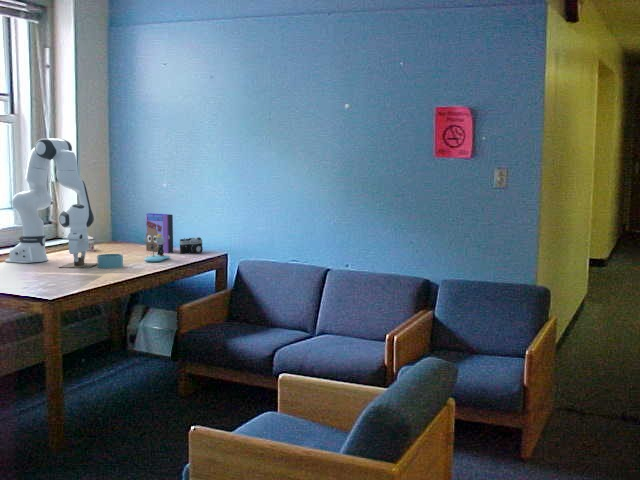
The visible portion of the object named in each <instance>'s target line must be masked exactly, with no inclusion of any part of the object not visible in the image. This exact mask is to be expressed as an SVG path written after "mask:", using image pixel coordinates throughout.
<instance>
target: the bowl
mask: <svg viewBox="0 0 640 480" xmlns="http://www.w3.org/2000/svg"><path fill="white" fill-rule="evenodd" d="M123 256H124V255H123V254H121V253H103V254H98V255H97V256H96V263H97V265H96V266H97V268H99V269H118V268H122V267H124V259H123V258H124V257H123Z"/></svg>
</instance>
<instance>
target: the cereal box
mask: <svg viewBox="0 0 640 480" xmlns="http://www.w3.org/2000/svg"><path fill="white" fill-rule="evenodd" d="M173 218H174V217H173V214H170V213H169V214H167V213H151V212H149V213H145V238H148V242H145V246H146V247H145V248H146V252H151V253H153V244H152V243H153V236H154V253H155V252H156V253H158V249H159V248H158V246H159V245H157V244H156V243H157V241H155V240H156V236H157V235H158V234H161V235H162V238H164V240H165V241H166V242H163V244H164V245H163V250H164V253H163V254H172V253H174V228H173V226H174V223H173ZM151 245H152V246H151ZM156 247H157V248H156Z"/></svg>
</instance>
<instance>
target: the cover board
mask: <svg viewBox="0 0 640 480" xmlns="http://www.w3.org/2000/svg"><path fill="white" fill-rule="evenodd" d="M78 258H79V261H78V262H75V258H74V257H73V262H68V263H66V264H64V265H60V266H58V269H90V268H93V267H95V266H97V262H85V259H84V257H81V256H78Z"/></svg>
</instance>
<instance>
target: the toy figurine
mask: <svg viewBox="0 0 640 480" xmlns="http://www.w3.org/2000/svg"><path fill="white" fill-rule="evenodd" d="M142 241H143V242H144V243H146V242H148V238H146V237H144V238H143V239H142ZM155 241H157V243H156V244H157V245H159V246H158V248H159V249H158V252H154V236H153V243H152V244H153V252H152V255H151V256H148V254H147V255H146V256H147V257H145V258H144V261H145V262H147V263H148V262H149V263H157V262H162V261H164V260H167V259H170V258H171V256H170V255H167V254H165V253H164V250H163V245H164V244H163V242H166V241H165V240H164V238H162V235H161V234H158V235H157V236H156V240H155ZM151 246H152V245H151ZM156 248H157V247H156Z"/></svg>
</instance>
